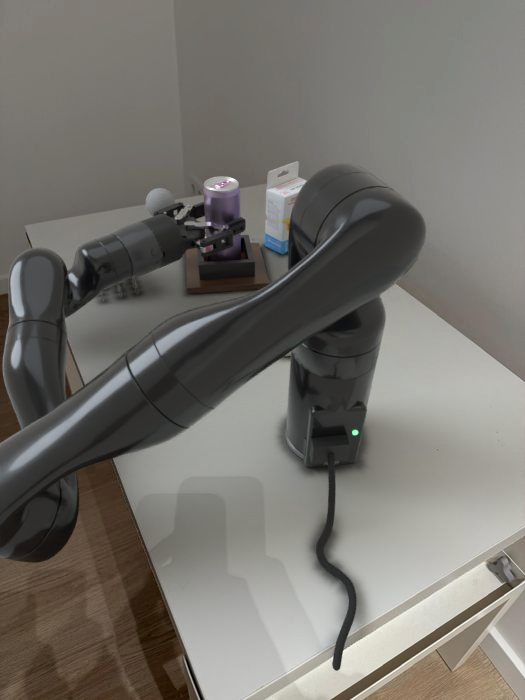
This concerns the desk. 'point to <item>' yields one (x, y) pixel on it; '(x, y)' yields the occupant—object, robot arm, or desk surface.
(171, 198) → the light bulb
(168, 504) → the desk surface
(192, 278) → the base pad
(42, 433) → the robot arm
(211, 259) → the beverage can
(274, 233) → the ink box
